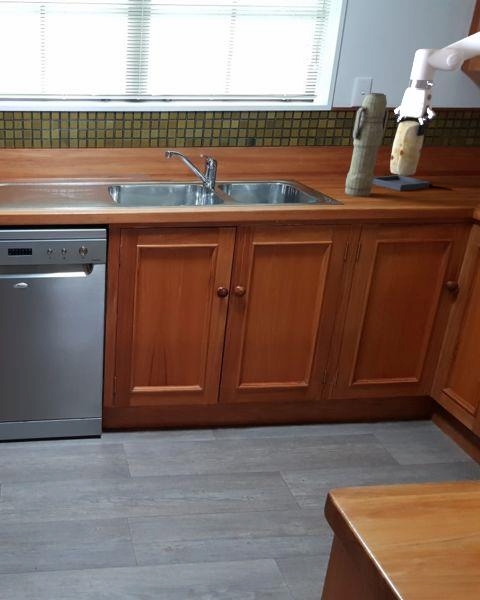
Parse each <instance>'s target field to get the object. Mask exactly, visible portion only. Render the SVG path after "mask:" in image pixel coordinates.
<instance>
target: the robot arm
mask: <svg viewBox="0 0 480 600" xmlns="http://www.w3.org/2000/svg"><path fill="white" fill-rule="evenodd" d="M478 56H480V31H478V32H475V33H474V34H472V35H469V36H467V37H464V38H463V39H460V40H458V41H455V42H453V43H451V44H449V45H447V46H445V47H443V48H441V49H436V48H420V49H417V50H416V51H415V55H414V59H413V65H412V69H411V73H410V78H409V82H408V88H406V89H405V92H404V94H403V96H402V97H403V98H402V101H401V104H400V106H398V107H396V108H395V109H394V110H393V111H394V113H395V114H394V115H395V118H396V122H397V125H396V131H395V133H396V132H397V129H398V126H399V124H400V123H401V122H405V121H406V120H407V118H415V119H418V121H419V122H418V123H420V125H418V129H417V133H416V135H417V136H423V135H425V131H426V126H427V125H429V123H430V122H431V121H432V120H433V119H434V118H435V117H436V113H435V111H434V110H433V109H432V108H433V103H434V102H433V100H434V90H433V89H432V87H434V86H435V82H434V77H435V73H436V70H437V71H443V72H454V71H456V70H458V69H459V68H461V66H462V65H463V64H464V62H465V61H467V60H469V59H472V58H474V57H478ZM423 137H424V136H423Z"/></svg>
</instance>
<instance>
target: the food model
mask: <svg viewBox="0 0 480 600" xmlns="http://www.w3.org/2000/svg"><path fill="white" fill-rule="evenodd" d="M418 125H420V122H417V121H415V120H405V121H404V122H401V123H400V124H399V126H398V125H397V126H398V129H397V128H396V131H397V132H396V131H395V136H394V140H393V144H392V149H391V156H390V165H389V170H390V173H391V174H393V175H400V176H404V177H408V176H414V175H415V174H416V172H417V167H418V164H419V161H420V158H421V157H420V156H421V151H422V147H423V143H424V135H425V134H424V135H423V136H417V135H416V133H417V129H418Z"/></svg>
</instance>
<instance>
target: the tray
mask: <svg viewBox="0 0 480 600" xmlns="http://www.w3.org/2000/svg"><path fill="white" fill-rule="evenodd" d="M430 184H431V183H430V181H427V180H421V179H418V178H413V177H408V176H401V175H397V174H393V175H386V176H374V180H373V185H372V186H377V187H380V188H385V187H386V188H385V189H389V188H390V189H389V190H393V189H394V190H393V191H397V190H398V192H404V191H403V190H406V191H412V190H411V189H415V190H422V189H421V188H424V189H429V188H430Z"/></svg>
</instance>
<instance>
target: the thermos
mask: <svg viewBox="0 0 480 600" xmlns="http://www.w3.org/2000/svg"><path fill="white" fill-rule="evenodd" d="M387 104H388V101H387V95H386V94H385V93H380V92H369V93H367V94H366V95H365V97H364V98H363V101H362V105H361V107H359V108H358V110H356V115H355V121H354V126H353V131H352V139H353V143H352V144H353V151H352V156H351V162H350V168H349V171H348V173H347V175H346V179H345V184H344V185H345V188H344V194H345V195H347V196H352V197H361V198H363V197H366V198H367V197H370V196H371V191H372V189H373V186H374V185H373V180H374V177H375V175H374V171H375V167H376V162H377V157H378V152H379V148H380V146H381V145H382V139H383V138H384V137H385V135H386V129H387V124H388V119H389V115H390V112H389V108H387Z"/></svg>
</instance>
